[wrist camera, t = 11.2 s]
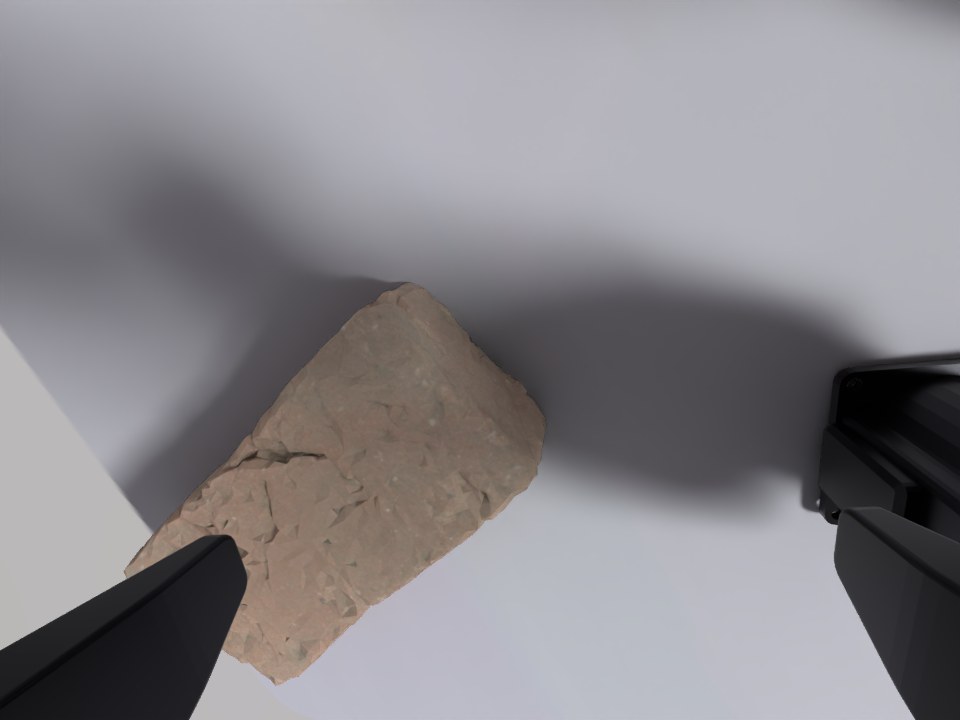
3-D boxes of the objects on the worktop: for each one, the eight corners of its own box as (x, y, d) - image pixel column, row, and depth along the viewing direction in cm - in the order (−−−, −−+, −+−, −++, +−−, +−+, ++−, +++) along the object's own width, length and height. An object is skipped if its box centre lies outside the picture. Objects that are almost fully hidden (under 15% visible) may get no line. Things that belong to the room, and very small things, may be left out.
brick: (403, 267, 19) (361, 295, 14) (556, 413, 20) (561, 479, 16) (187, 508, 24) (108, 582, 20) (319, 610, 25) (274, 701, 21)
